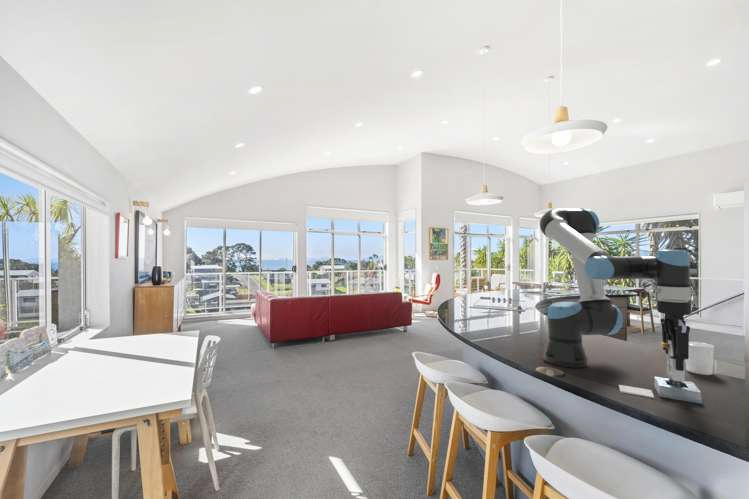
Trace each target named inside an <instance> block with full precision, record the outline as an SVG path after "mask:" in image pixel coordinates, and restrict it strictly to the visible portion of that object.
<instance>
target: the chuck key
mask: <svg viewBox="0 0 749 499" xmlns="http://www.w3.org/2000/svg"><path fill="white" fill-rule="evenodd" d="M660 347H661V348H663V347H664V348H668V366H669V376H668V379H669V385H672V386H679V387H683V385H682V381H674V380H672V359H671V358H670V356H673V349H672V340H668V343H663V342H660Z"/></svg>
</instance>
